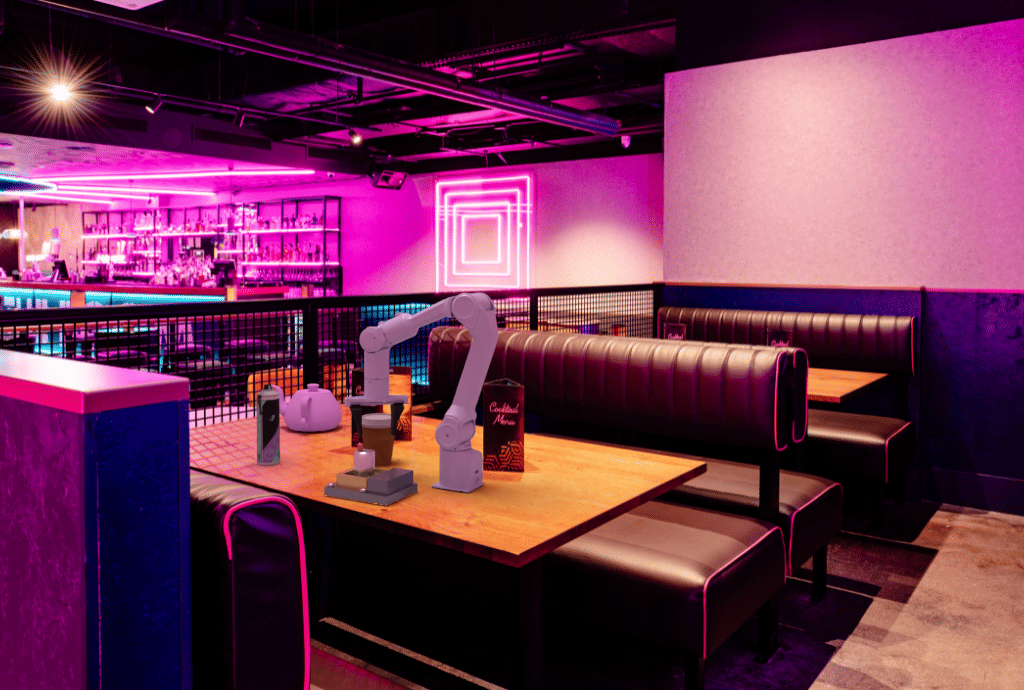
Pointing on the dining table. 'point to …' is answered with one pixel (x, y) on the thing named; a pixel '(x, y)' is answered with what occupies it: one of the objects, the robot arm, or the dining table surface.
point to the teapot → (310, 409)
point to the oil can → (364, 462)
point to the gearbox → (373, 486)
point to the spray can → (268, 426)
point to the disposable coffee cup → (378, 437)
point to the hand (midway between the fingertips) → (376, 435)
